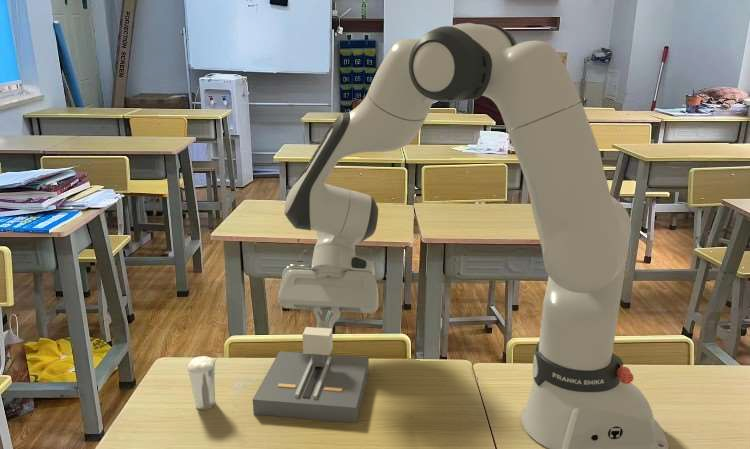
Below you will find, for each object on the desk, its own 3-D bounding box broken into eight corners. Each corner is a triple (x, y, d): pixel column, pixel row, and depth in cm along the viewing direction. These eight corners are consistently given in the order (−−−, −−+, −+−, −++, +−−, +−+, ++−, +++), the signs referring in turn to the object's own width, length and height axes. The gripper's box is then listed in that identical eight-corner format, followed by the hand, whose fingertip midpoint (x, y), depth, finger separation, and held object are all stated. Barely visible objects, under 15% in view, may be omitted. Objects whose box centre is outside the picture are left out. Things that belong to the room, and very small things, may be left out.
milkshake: (215, 414, 94) (210, 364, 91) (187, 410, 95) (181, 360, 92) (227, 399, 99) (222, 350, 96) (200, 395, 100) (194, 347, 97)
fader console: (368, 370, 108) (368, 354, 107) (356, 422, 92) (355, 404, 91) (280, 364, 110) (279, 348, 109) (253, 414, 95) (252, 396, 93)
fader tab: (332, 361, 104) (332, 328, 102) (330, 369, 102) (329, 335, 100) (307, 359, 105) (306, 327, 103) (303, 367, 102) (302, 334, 100)
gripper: (280, 257, 112) (268, 322, 105) (379, 262, 109) (373, 329, 103) (287, 269, 117) (276, 332, 111) (382, 274, 115) (376, 338, 109)
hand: (324, 330), depth 107 cm, fingers closed
